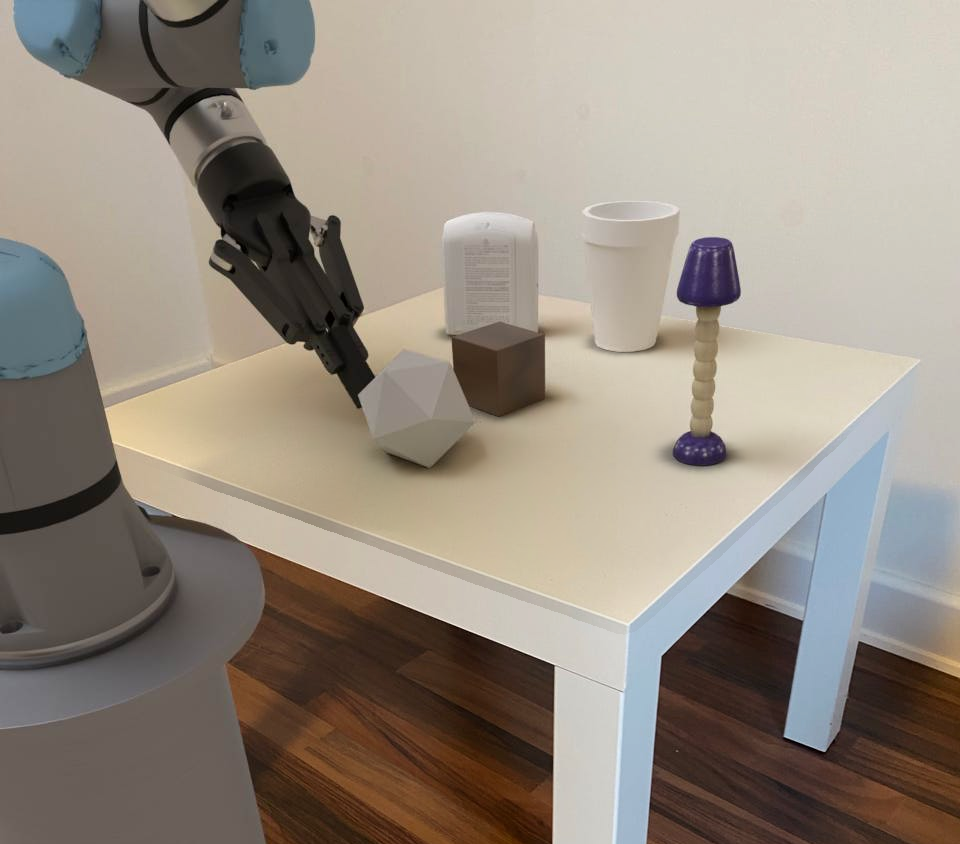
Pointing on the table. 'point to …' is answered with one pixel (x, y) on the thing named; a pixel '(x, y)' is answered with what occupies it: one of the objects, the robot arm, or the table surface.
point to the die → (416, 408)
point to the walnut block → (500, 367)
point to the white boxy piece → (490, 272)
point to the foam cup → (628, 269)
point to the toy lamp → (706, 340)
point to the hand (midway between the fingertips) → (369, 398)
